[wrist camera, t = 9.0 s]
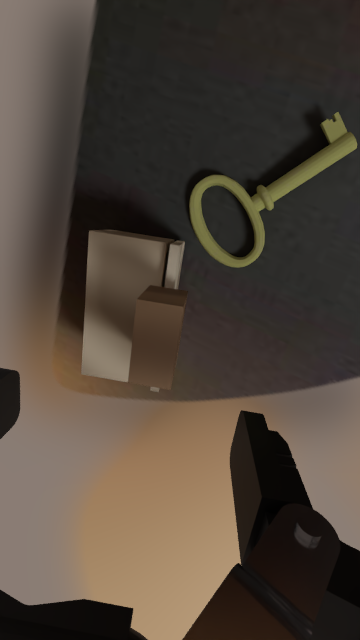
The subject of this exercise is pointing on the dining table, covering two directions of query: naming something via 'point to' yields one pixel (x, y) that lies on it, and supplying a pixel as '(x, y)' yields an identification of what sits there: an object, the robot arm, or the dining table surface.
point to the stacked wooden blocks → (159, 327)
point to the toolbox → (117, 296)
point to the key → (268, 192)
